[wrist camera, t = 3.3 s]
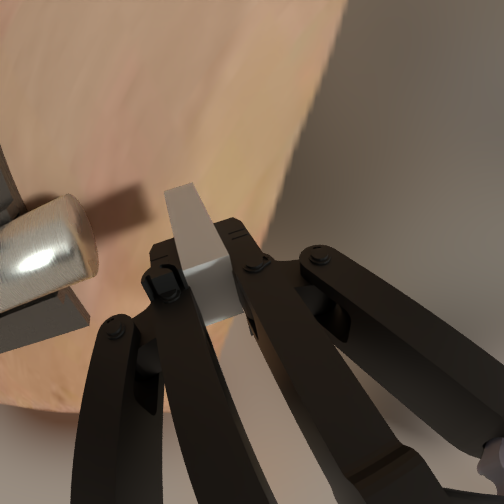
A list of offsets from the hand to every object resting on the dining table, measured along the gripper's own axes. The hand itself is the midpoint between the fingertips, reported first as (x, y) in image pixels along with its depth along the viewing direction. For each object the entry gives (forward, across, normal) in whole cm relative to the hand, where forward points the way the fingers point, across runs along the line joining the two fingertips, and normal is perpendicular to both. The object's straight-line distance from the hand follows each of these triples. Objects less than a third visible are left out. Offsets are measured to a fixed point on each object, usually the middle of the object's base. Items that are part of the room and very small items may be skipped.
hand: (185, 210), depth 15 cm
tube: (+2, -14, 0) cm, 15 cm away
